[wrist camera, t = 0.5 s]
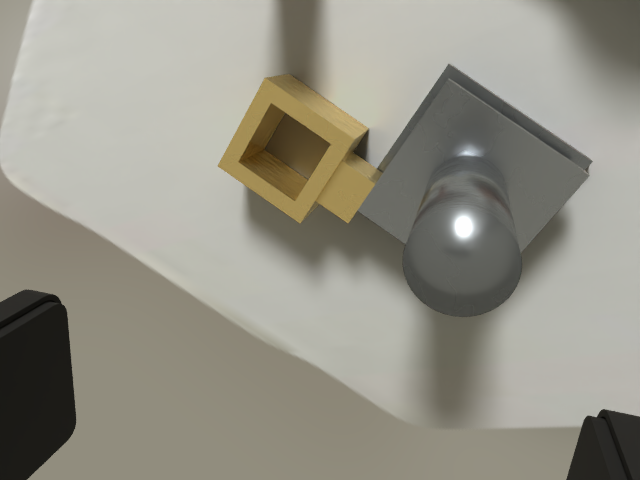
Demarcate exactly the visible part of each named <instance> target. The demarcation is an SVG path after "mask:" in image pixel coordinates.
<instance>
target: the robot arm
mask: <svg viewBox="0 0 640 480" xmlns="http://www.w3.org/2000/svg"><path fill="white" fill-rule="evenodd" d="M75 425H76V412H75V400H74V388H73V376H72V365H71V353H70V341H69V330H68V318H67V311H66V308H65V306H64V305H62V304H61V301H60V300H59V298H58V297H57V296H56V295H53V294H48V293H43V292H38V291H33V290H23V291H21V292H19V293H17V294H15V295H13V296H12V297H9V298H7V299H6V300H4V301H2V302H0V480H27V479H28V478H29V477H30V476H31V475H32V474H33V473H34V472H35V471H36V470H37V469H38V468H39V467H40V466H42V465H43V464H44V462H46V461H47V460H48V459H49V458H50V457H51V456H52V455H53V454H54V453H55V452H56V451H57V450H58V449H59V448H60V447H61V446H62V445H63V444H64V443H66V442H67V440H68V439H69V438H70V437H71V435H72V434H73V431H74V429H75ZM566 480H640V417H639V416H634V415H629V414H624V413H619V412H615V411H610V410H605V409H603V410H601V411H600V412H599V414H598V416H597V417H593V416H586V418H585V419H584V422H583V425H582V428H581V432H580V435H579V438H578V442H577V446H576V449H575V452H574V456H573V459H572V462H571V466H570V469H569V473H568V476H567V479H566Z"/></svg>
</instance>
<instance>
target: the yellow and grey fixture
mask: <svg viewBox="0 0 640 480" xmlns="http://www.w3.org/2000/svg"><path fill="white" fill-rule="evenodd" d="M285 113H287V114H288V115H290V116H291V117H293V118H294V119H295V120H297V121H298V122H300V123H301V124H303V125H304V126H306V127H307V128H308V129H310V130H311V131H313V132H314V133H316V134H317V135H319V136H320V137H321V138H323V139H324V140H326V141H327V142H329V143H330V144H331V145H330V146H329V148H328V150H327V151H326V153H325V154H324V156H323V157H322V159H321V161H320V162H319V164H318V165H317V167H316V169H315V170H314V172H313V173H312V175H311V177H310V178H309V180H307V179H306V178H305V177H303V176H302V175H300V174H299V173H297V172H296V171H294V170H293V169H292V168H290V167H289V166H287V165H286V164H284V163H283V162H281V161H280V160H279V159H277V158H276V157H274V156H273V155H271V154H270V153H269V152H267V151H266V150H264V149H265V147H266V146H267V144H268V142H269V140H270V138H271V137H272V135H273V133H274V131H275V130H276V128H277V126H278V124H279V123H280V121H281V119H282V117H283V116H284V114H285ZM368 129H369V128H367V127H366V126H364V125H363V124H361V123H360V122H358V121H357V120H356V119H354V118H353V117H351V116H350V115H348V114H347V113H345V112H344V111H342V110H341V109H340V108H338V107H337V106H335V105H334V104H332V103H331V102H329V101H328V100H326V99H325V98H324V97H322V96H321V95H319V94H318V93H316V92H315V91H313V90H312V89H310V88H309V87H308V86H306V85H305V84H303V83H302V82H300V81H299V80H297V79H296V78H294V77H293V76H291V75H290V74H287V75H280V76H273V77H266V78H265V79H264V81H263V82H262V84H261V86H260V88H259V90H258V92H257V94H256V96H255V97H254V99H253V101H252V103H251V105H250V107H249V109H248V110H247V112H246V114H245V116H244V118H243V120H242V122H241V123H240V125H239V127H238V129H237V131H236V133H235V135H234V136H233V138H232V140H231V142H230V144H229V146H228V148H227V150H226V151H225V153H224V155H223V157H222V159H221V161H220V163H219V164H218V167H220V168H221V169H222V170H224V171H225V172H227V173H228V174H230V175H231V176H233V177H234V178H235V179H237V180H238V181H240V182H241V183H243V184H244V185H245V186H247V187H248V188H250V189H251V190H253V191H254V192H255V193H257V194H258V195H260V196H261V197H263V198H264V199H266V200H267V201H268V202H270V203H271V204H273V205H274V206H276V207H277V208H278V209H280V210H281V211H283V212H284V213H286V214H287V215H288V216H290V217H291V218H293V219H294V220H296V221H297V222H298V223H301V222H302V221H303V220H304V219H305V218H306V217H307V216H308V215H309V214H310V213H311V212H312V211H313V210H314V209H315V208H316V207H317V206H318V205H319V204H321V205H322V206H324V207H325V208H326V209H328V210H329V211H331V212H332V213H334V214H335V215H336V216H338V217H339V218H341V219H342V220H344V221H345V222H347V223H349V222H350V220H351V219H352V218H353V216H354V215H355V213H356V212H357V211H358V212H360V213H361V214H362V215H364V216H365V217H367V218H368V219H370V220H371V221H372V222H374V223H375V224H377V225H378V226H380V227H381V228H383V229H384V230H385V231H387V232H388V233H390V234H391V235H393V236H394V237H396V238H397V239H398V240H400V241H401V242H403V243H404V244H406V246H405V249H404V253H403V270H404V274H405V278H406V280H407V283H408V285H409V287H410V288H411V290H412V291H413V293H414V294H415V295H416V296H417V297H418V298H419V299H420V300H421V301H422V302H423V303H424V304H426V305H427V306H429V307H430V308H432V309H434V310H436V311H438V312H441V313H444V314H447V315H451V316H459V317H468V316H476V315H480V314H484V313H486V312H489V311H491V310H493V309H495V308H497V307H498V306H499V305H501V304H502V303H504V302H505V301H506V300H507V299H508V298H509V296H510V295H511V294H512V293H513V291H514V290H515V288H516V286H517V284H518V282H519V279H520V275H521V270H522V257H521V252H522V251H523V250H524V249H525V248H526V247H527V246H528V244H529V243H530V242H531V241H532V240H533V239H534V238H535V236H536V235H537V234H538V233H539V232H540V231H541V230H542V229H543V227H544V226H545V225H546V224H547V223H548V222H549V221H550V219H551V218H552V217H553V216H554V215H555V214H556V213H557V212H558V210H559V209H560V208H561V207H562V206H563V205H564V204H565V203H566V201H567V200H568V199H569V198H570V197H571V196H572V195H573V193H574V192H575V191H576V190H577V189H578V188H579V187H580V186H581V184H582V183H583V182H584V181H585V180H586V179H587V178H588V176H589V174H588V173H587V172H586V171H585V170H586V168H587V167H588V166H589V165H590V164H591V163H592V162H593V161H592V160H591V159H589V158H588V157H587V156H585V155H584V154H582V153H581V152H579V151H578V150H576V149H575V148H573V147H572V146H570V145H569V144H567V143H566V142H564V141H563V140H561V139H560V138H559V137H557V136H556V135H554V134H553V133H551V132H550V131H548V130H547V129H545V128H544V127H542V126H541V125H539V124H538V123H536V122H535V121H533V120H532V119H531V118H529V117H528V116H526V115H525V114H523V113H522V112H520V111H519V110H517V109H516V108H514V107H513V106H511V105H510V104H508V103H507V102H505V101H504V100H503V99H501V98H500V97H498V96H497V95H495V94H494V93H492V92H491V91H489V90H488V89H486V88H485V87H483V86H482V85H480V84H479V83H477V82H476V81H475V80H473V79H472V78H470V77H469V76H467V75H466V74H464V73H463V72H461V71H460V70H458V69H457V68H455V67H454V66H452V65H451V64H448V66H447V67H446V69H445V70H444V72H443V73H442V75H441V76H440V78H439V79H438V80H437V82H436V83H435V85H434V86H433V88H432V89H431V91H430V92H429V94H428V95H427V97H426V98H425V99H424V101H423V102H422V104H421V105H420V107H419V108H418V110H417V111H416V113H415V114H414V116H413V117H412V118H411V120H410V121H409V123H408V124H407V126H406V127H405V129H404V130H403V132H402V133H401V135H400V136H399V137H398V139H397V140H396V142H395V143H394V145H393V146H392V148H391V149H390V151H389V152H388V154H387V155H386V156H385V158H384V159H383V161H382V162H381V164H380V165H379V167H378V168H377V169H376V168H375V167H373V166H372V165H370V164H369V163H368V162H366V161H365V160H363V159H362V158H360V157H359V156H357V155H356V154H355V153H353V152H354V151H355V149H356V148H357V146H358V144H359V143H360V141H361V140H362V138H363V137H364V135H365V134H366V132H367V131H368Z"/></svg>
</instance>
